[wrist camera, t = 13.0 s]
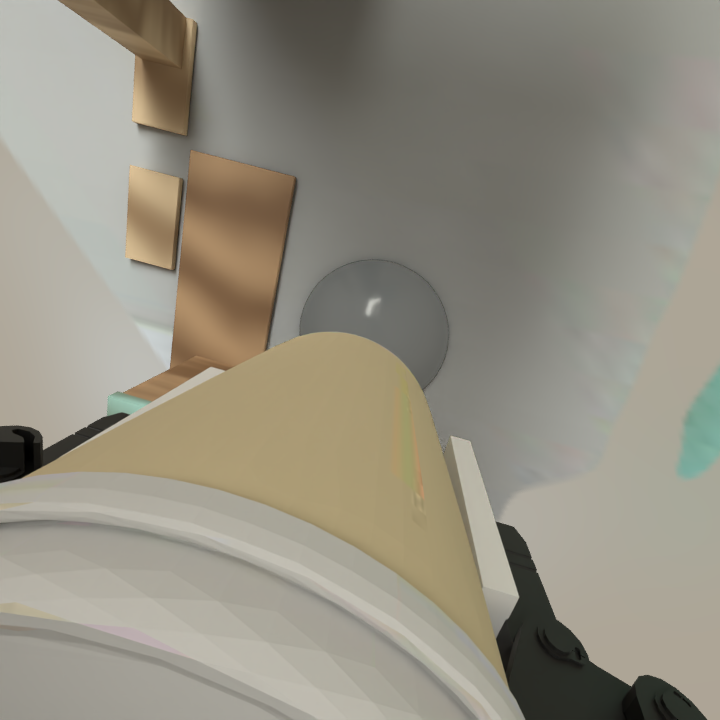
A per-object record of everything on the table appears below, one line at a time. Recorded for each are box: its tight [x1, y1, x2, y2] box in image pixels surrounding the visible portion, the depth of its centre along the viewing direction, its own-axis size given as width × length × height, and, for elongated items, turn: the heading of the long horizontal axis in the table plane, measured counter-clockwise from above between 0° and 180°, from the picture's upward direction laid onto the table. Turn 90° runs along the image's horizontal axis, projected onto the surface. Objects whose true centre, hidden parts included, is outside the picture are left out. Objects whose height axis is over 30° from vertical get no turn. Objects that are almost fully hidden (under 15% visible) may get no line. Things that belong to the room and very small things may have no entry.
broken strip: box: [58, 0, 197, 270], centre depth 24 cm, size 17×4×10 cm, turn 166°
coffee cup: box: [0, 332, 525, 720], centre depth 10 cm, size 9×9×12 cm
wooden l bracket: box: [107, 150, 296, 416], centre depth 26 cm, size 19×8×10 cm, turn 166°
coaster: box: [300, 260, 449, 389], centre depth 30 cm, size 12×12×1 cm
